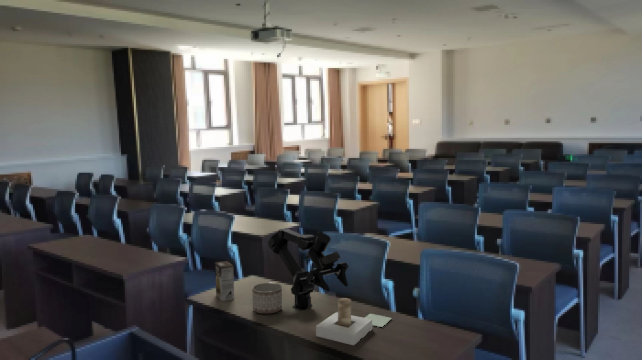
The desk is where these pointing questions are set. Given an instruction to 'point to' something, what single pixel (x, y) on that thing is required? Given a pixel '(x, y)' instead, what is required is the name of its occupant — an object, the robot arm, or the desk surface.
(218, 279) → the coffee box
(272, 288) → the planter
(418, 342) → the desk surface
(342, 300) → the wooden peg
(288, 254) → the robot arm
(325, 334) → the pocket block
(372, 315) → the green pad
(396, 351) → the desk surface
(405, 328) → the desk surface
